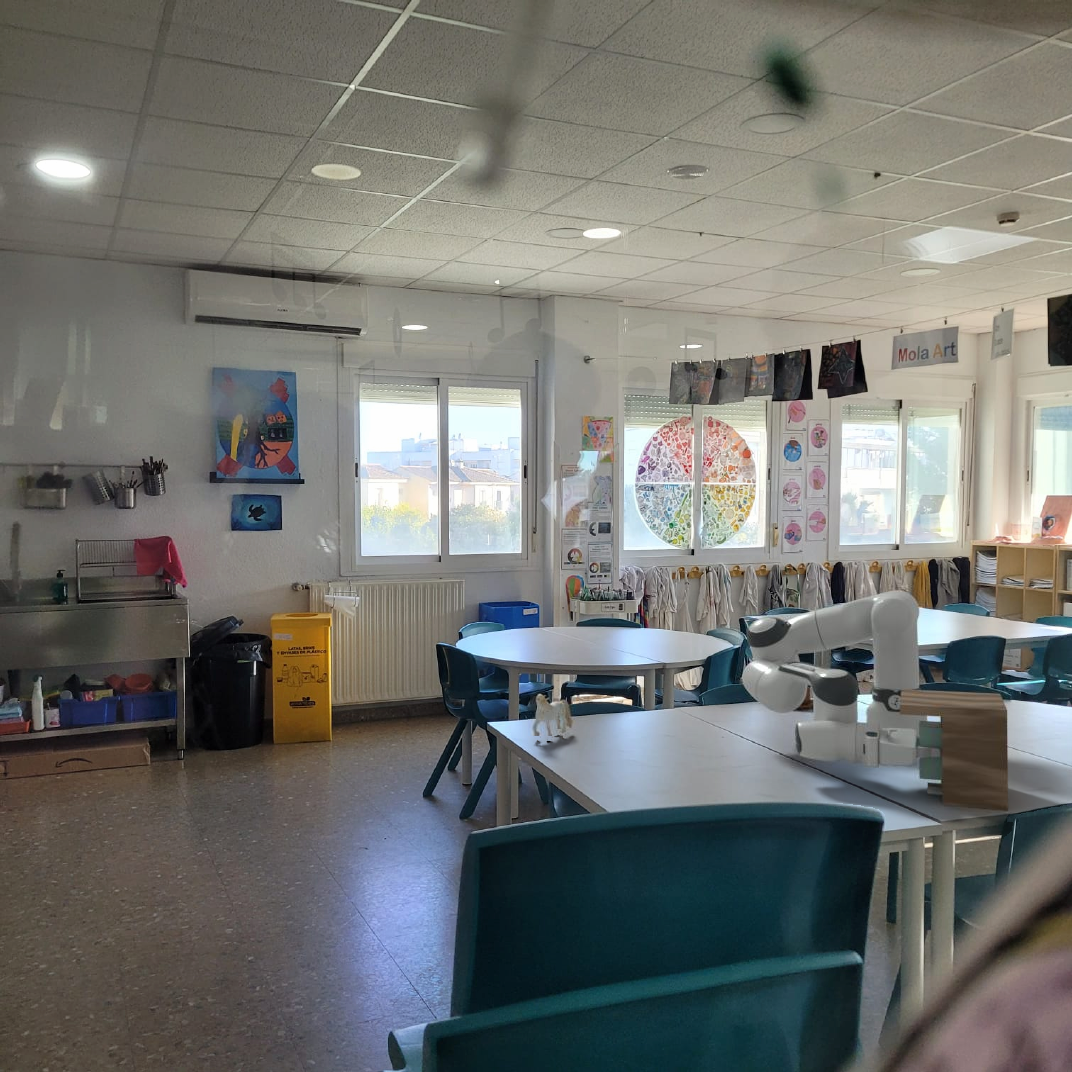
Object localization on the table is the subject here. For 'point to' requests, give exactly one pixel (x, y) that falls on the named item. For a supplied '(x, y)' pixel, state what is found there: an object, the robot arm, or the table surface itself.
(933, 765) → the upright mint green block
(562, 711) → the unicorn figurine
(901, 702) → the cubby
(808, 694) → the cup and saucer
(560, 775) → the table surface
